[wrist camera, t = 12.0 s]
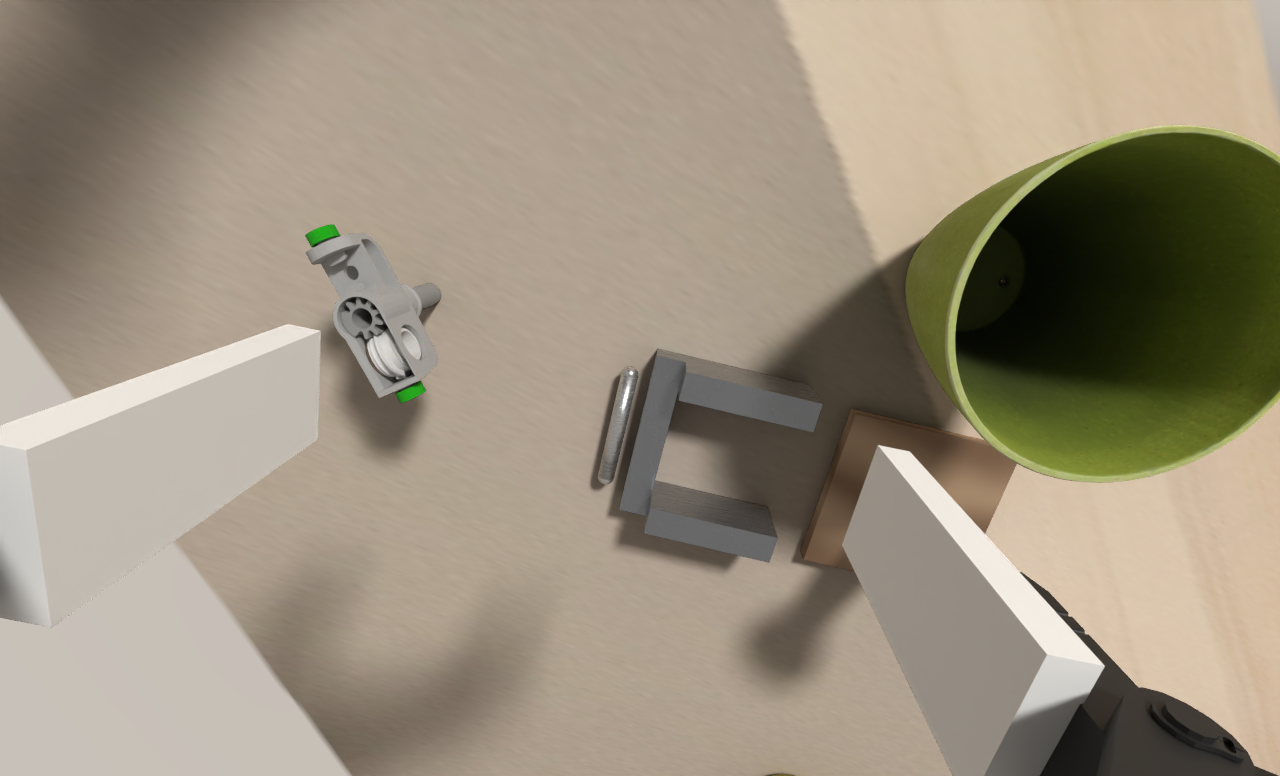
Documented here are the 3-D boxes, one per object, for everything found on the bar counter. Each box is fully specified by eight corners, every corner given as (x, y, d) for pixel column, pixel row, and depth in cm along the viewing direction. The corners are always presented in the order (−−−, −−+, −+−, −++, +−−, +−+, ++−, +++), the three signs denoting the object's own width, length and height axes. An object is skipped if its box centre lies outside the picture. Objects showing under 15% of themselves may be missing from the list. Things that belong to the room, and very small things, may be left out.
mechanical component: (412, 216, 41) (332, 219, 31) (482, 351, 43) (428, 392, 34) (375, 234, 41) (286, 242, 32) (447, 367, 44) (383, 411, 34)
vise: (628, 341, 43) (623, 356, 38) (807, 384, 43) (823, 404, 38) (594, 490, 46) (586, 520, 42) (760, 529, 46) (769, 562, 42)
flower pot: (837, 385, 43) (929, 484, 27) (852, 162, 38) (971, 132, 23) (1056, 382, 42) (1277, 483, 26) (1096, 154, 38) (1387, 117, 22)
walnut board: (851, 408, 43) (855, 414, 42) (1012, 446, 43) (1021, 453, 42) (800, 551, 47) (803, 559, 45) (949, 585, 47) (956, 595, 46)
